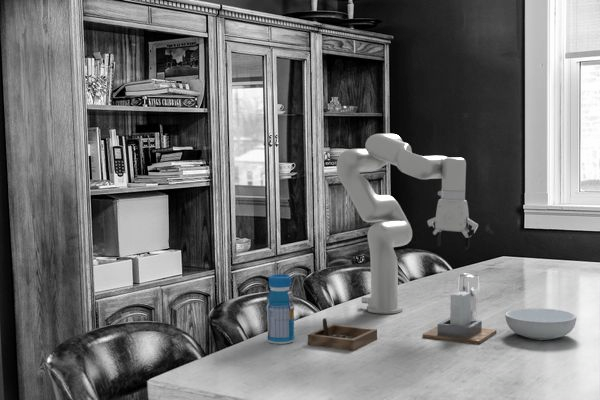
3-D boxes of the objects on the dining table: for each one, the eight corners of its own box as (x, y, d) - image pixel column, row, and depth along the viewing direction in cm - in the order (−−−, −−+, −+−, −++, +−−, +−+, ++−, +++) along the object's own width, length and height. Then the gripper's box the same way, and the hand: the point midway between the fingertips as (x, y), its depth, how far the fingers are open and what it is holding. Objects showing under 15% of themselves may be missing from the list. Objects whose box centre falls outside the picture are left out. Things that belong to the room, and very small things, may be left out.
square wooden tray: (307, 344, 245) (307, 334, 245) (332, 333, 258) (332, 324, 258) (353, 350, 237) (353, 340, 237) (377, 339, 250) (377, 329, 250)
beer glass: (479, 322, 271) (479, 277, 270) (457, 321, 272) (457, 276, 271) (479, 317, 278) (479, 273, 277) (458, 316, 279) (458, 273, 278)
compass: (350, 343, 246) (350, 319, 245) (324, 344, 245) (323, 320, 245) (347, 337, 254) (346, 313, 253) (321, 338, 253) (321, 314, 253)
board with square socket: (422, 337, 252) (422, 324, 251) (441, 326, 265) (441, 314, 265) (479, 344, 242) (479, 331, 242) (496, 332, 256) (496, 320, 256)
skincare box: (458, 329, 257) (458, 290, 256) (471, 330, 255) (471, 292, 254) (449, 333, 252) (449, 294, 252) (462, 334, 250) (462, 295, 249)
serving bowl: (576, 330, 257) (576, 309, 257) (575, 347, 238) (576, 323, 237) (508, 326, 264) (508, 305, 264) (501, 342, 244) (502, 319, 244)
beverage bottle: (274, 346, 244) (273, 279, 242) (262, 340, 252) (261, 275, 250) (299, 342, 248) (298, 276, 246) (287, 336, 255) (286, 272, 254)
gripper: (423, 194, 268) (422, 246, 269) (474, 198, 258) (472, 252, 260) (433, 193, 274) (431, 243, 276) (483, 196, 264) (481, 249, 266)
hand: (451, 247), depth 268 cm, fingers open, 9 cm apart
